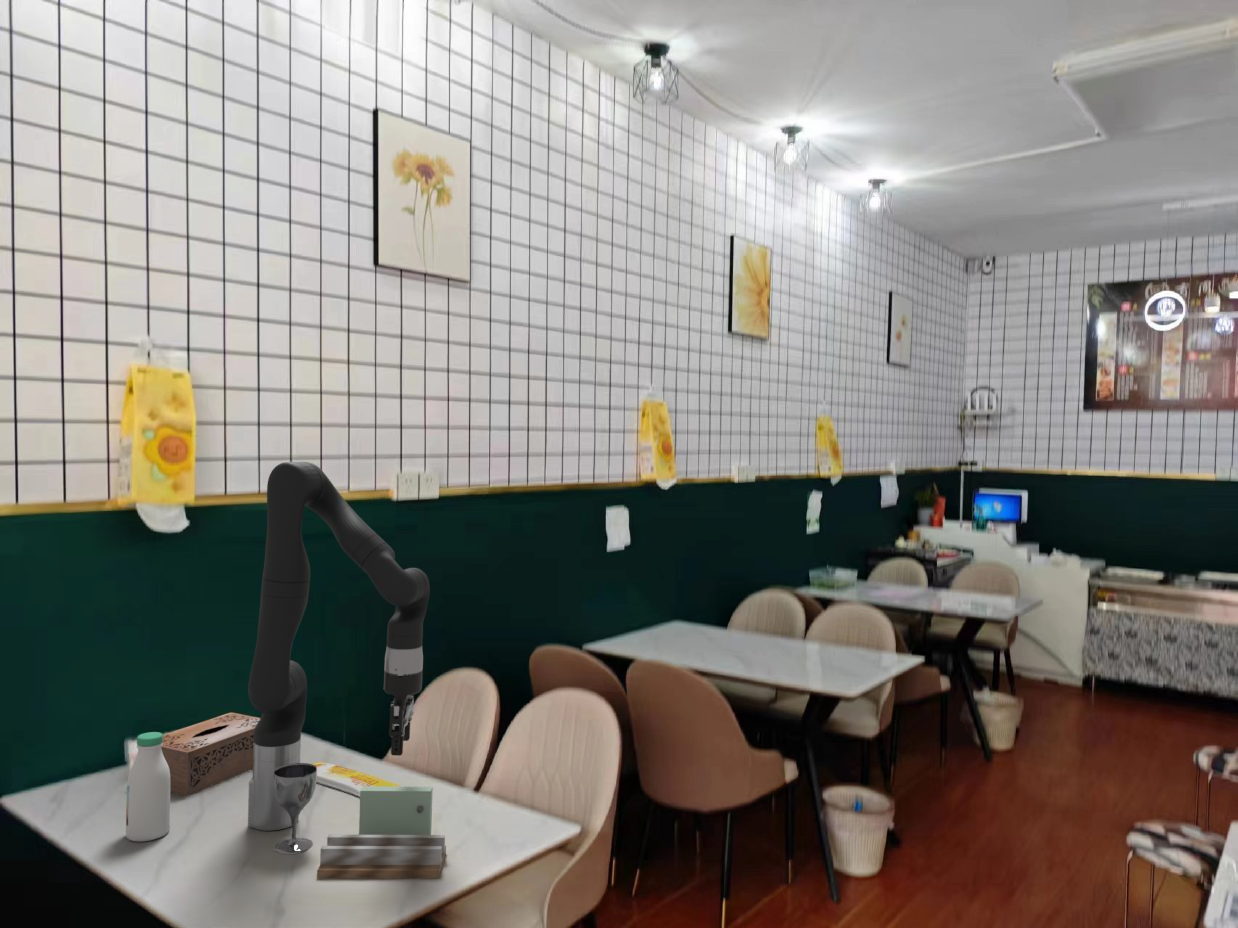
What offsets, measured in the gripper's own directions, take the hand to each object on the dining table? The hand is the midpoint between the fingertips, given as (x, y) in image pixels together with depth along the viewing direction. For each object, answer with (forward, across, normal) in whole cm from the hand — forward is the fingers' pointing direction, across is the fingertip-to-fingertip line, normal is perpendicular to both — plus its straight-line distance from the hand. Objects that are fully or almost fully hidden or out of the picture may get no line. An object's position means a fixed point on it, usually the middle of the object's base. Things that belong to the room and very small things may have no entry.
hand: (400, 747), depth 179 cm
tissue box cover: (+19, -35, -50) cm, 64 cm away
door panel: (+18, 0, 0) cm, 18 cm away
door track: (+18, +12, 0) cm, 22 cm away
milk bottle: (+19, -1, -49) cm, 53 cm away
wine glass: (+19, +4, -19) cm, 27 cm away
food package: (+19, -29, -17) cm, 39 cm away
